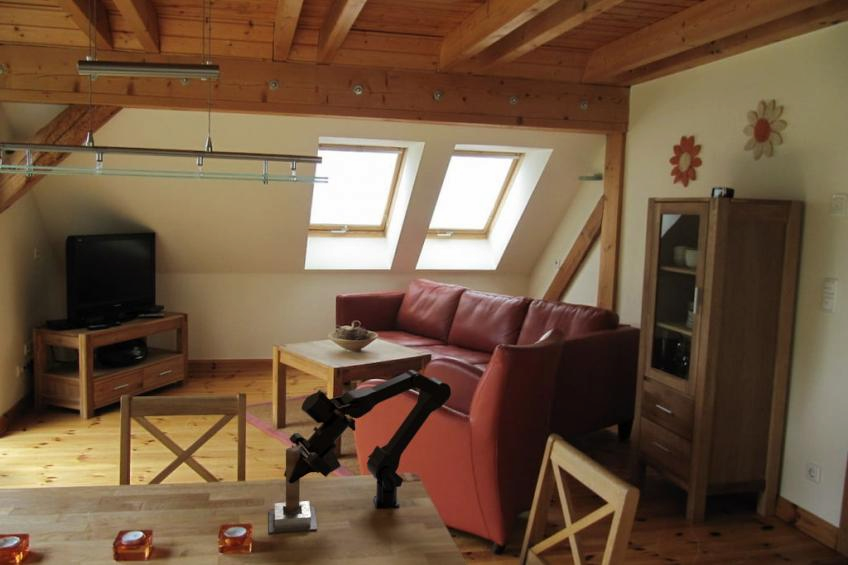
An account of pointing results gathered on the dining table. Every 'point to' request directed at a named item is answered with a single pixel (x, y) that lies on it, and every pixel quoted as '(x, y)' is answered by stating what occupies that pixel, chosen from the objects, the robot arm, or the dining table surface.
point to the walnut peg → (294, 488)
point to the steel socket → (292, 519)
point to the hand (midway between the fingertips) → (287, 479)
